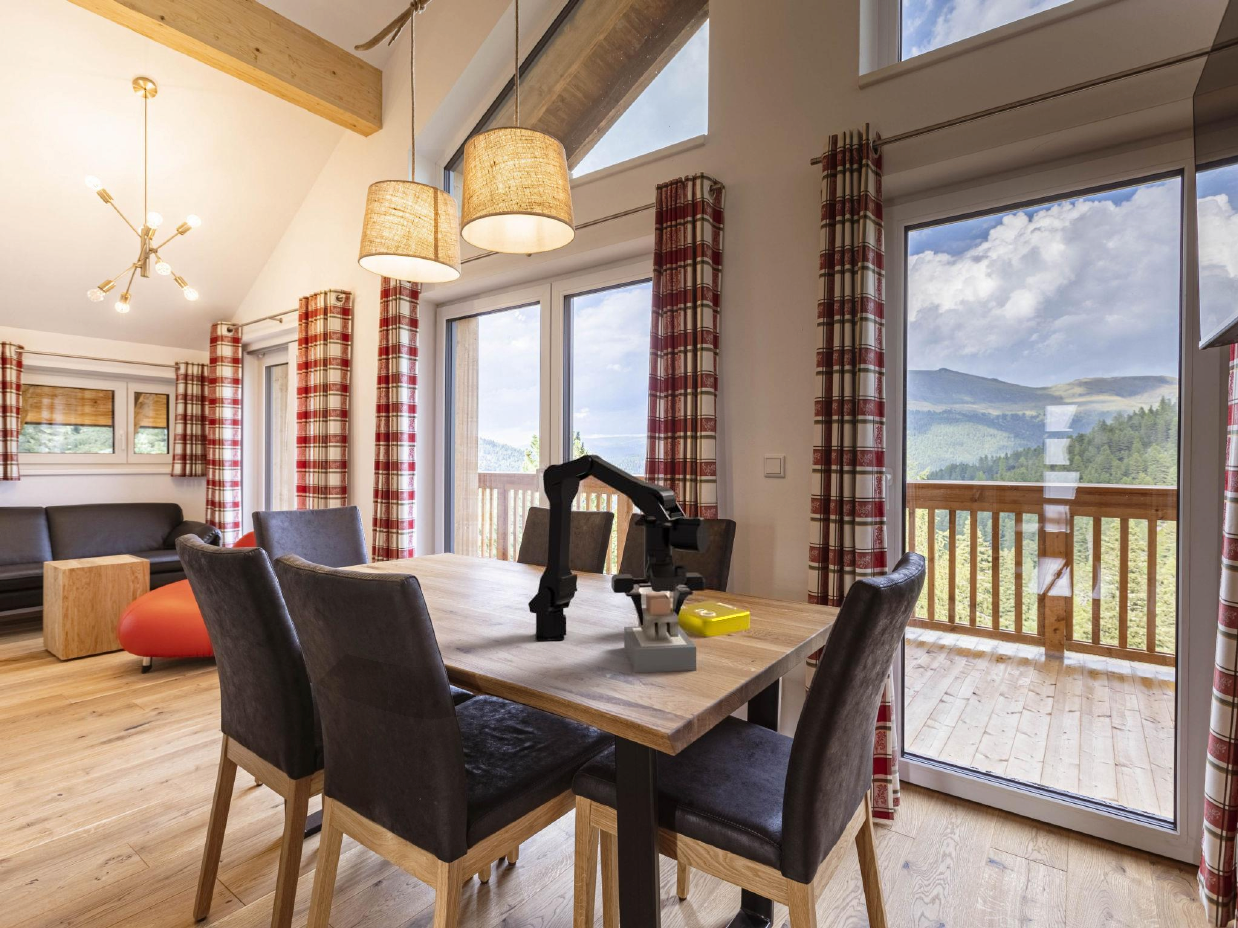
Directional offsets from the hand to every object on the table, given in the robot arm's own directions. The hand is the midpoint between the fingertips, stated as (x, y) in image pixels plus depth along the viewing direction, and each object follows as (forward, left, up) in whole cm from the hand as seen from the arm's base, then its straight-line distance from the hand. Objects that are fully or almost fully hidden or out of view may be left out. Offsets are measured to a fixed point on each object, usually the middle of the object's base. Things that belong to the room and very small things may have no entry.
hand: (657, 624), depth 128 cm
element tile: (+17, +23, -8) cm, 30 cm away
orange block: (0, 0, +3) cm, 3 cm away
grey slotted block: (0, 0, -1) cm, 1 cm away
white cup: (+2, +18, -7) cm, 19 cm away
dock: (0, 0, -7) cm, 7 cm away
